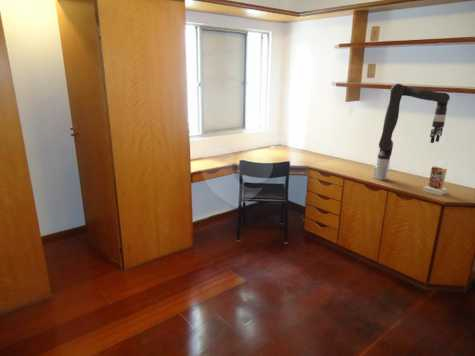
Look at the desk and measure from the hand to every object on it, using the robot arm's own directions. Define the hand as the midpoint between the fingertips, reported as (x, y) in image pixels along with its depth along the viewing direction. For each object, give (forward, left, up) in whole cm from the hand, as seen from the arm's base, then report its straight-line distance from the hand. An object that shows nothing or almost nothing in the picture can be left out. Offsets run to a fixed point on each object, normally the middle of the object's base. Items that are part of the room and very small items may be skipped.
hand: (434, 142), depth 255 cm
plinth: (+11, -11, -34) cm, 37 cm away
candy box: (+11, -11, -31) cm, 35 cm away
